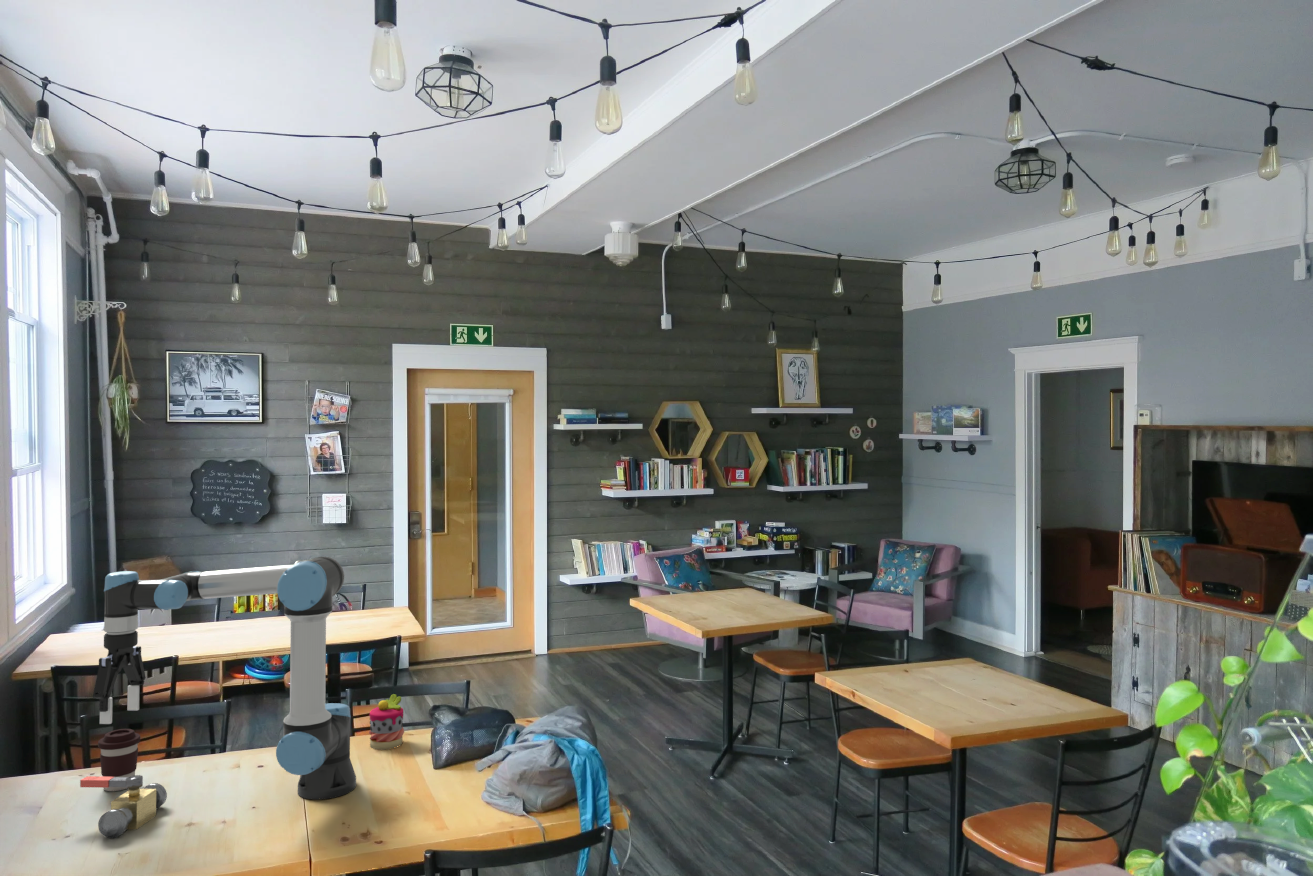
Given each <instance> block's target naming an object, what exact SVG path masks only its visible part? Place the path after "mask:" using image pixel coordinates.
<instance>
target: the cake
mask: <svg viewBox="0 0 1313 876" xmlns="http://www.w3.org/2000/svg"><path fill="white" fill-rule="evenodd" d="M401 701H402V696H397V694H394V693H393V694H391V695H390V697H389V699H384V700H380V701H379V702H378V705H377V707H374V708H372V709H371V710H370V711H369V720H370V721H369V727H370V729H369V731H368V734H369V735H370V737H369V747H370V748H371V749H372V748H373V750H378V751H387V750H391V749H390V748H393V749H395V748H394V747H396V748H398V747H397V746H399V745H400V746H402V745H403V735H404V733H405V729H404V727H403V726H404V723H403V721H404V708H403V707H402V706H401V705H400V703H401ZM401 744H402V745H401ZM400 746H399V747H400ZM386 749H387V750H386Z"/></svg>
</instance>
